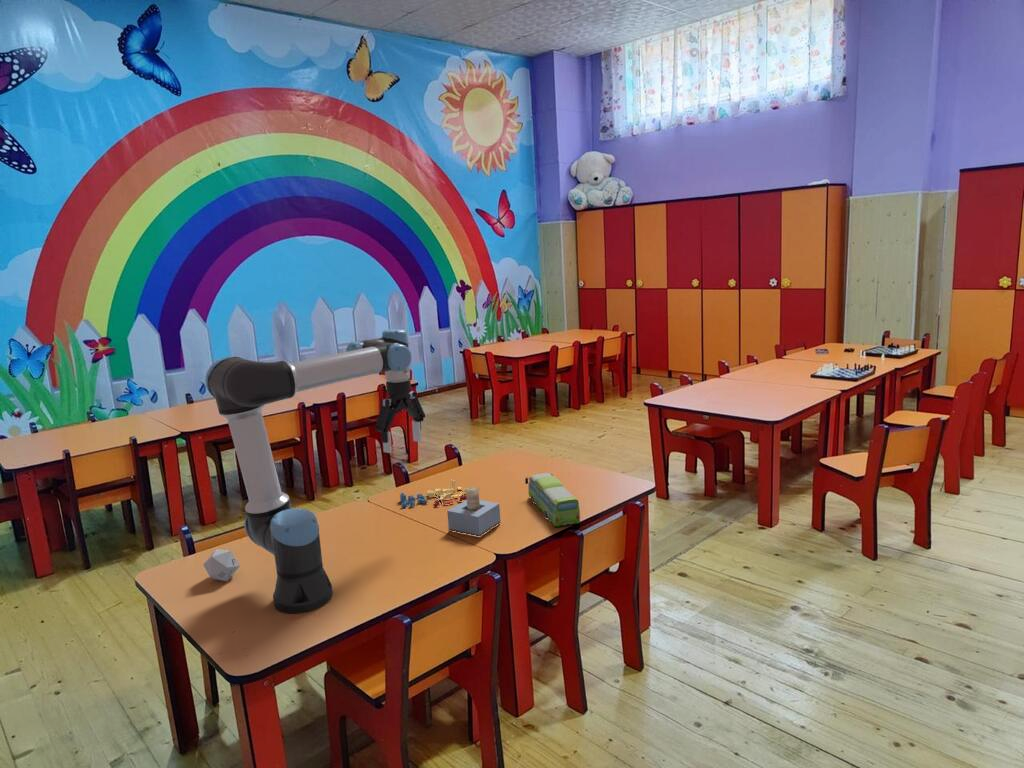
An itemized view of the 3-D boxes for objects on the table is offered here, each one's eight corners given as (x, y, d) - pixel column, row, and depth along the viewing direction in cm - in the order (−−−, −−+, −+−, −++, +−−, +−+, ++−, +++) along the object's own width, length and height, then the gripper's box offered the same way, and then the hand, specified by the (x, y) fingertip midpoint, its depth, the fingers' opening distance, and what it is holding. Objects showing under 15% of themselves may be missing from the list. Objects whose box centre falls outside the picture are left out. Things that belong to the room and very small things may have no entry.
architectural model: (511, 480, 268) (510, 467, 267) (525, 492, 256) (524, 478, 254) (396, 502, 252) (394, 488, 251) (405, 515, 240) (403, 501, 238)
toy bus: (553, 493, 251) (552, 467, 249) (584, 525, 222) (583, 496, 220) (525, 497, 249) (524, 471, 247) (553, 530, 220) (551, 500, 218)
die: (211, 591, 193) (230, 561, 193) (191, 571, 197) (210, 541, 196) (232, 587, 201) (251, 559, 201) (213, 568, 204) (231, 540, 204)
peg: (476, 527, 222) (473, 492, 220) (466, 525, 224) (463, 490, 222) (483, 523, 225) (480, 488, 223) (473, 521, 227) (470, 486, 225)
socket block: (479, 538, 217) (478, 516, 215) (448, 531, 223) (447, 510, 222) (500, 523, 227) (499, 503, 225) (470, 517, 233) (469, 498, 231)
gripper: (378, 388, 201) (383, 458, 205) (433, 373, 222) (437, 438, 226) (359, 386, 205) (365, 455, 209) (415, 372, 226) (420, 435, 230)
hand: (402, 446), depth 217 cm, fingers open, 13 cm apart
